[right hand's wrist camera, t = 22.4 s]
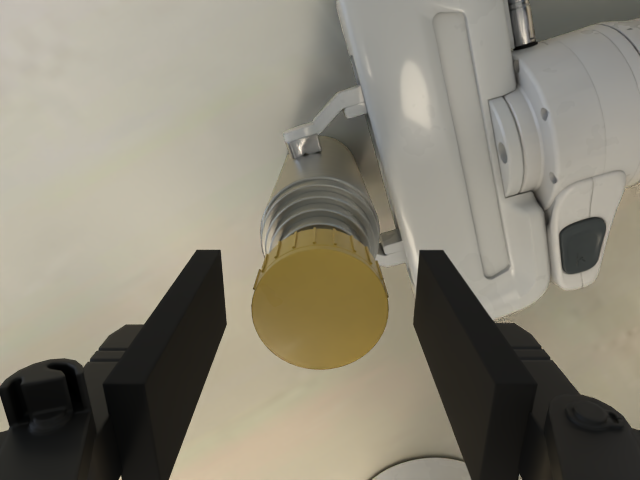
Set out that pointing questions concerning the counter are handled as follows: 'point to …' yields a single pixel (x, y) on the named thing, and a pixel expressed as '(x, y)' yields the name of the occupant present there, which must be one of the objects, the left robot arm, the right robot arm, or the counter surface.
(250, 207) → the counter surface
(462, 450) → the right robot arm
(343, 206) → the bottle
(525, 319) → the counter surface
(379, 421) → the counter surface
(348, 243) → the cap
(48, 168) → the counter surface
